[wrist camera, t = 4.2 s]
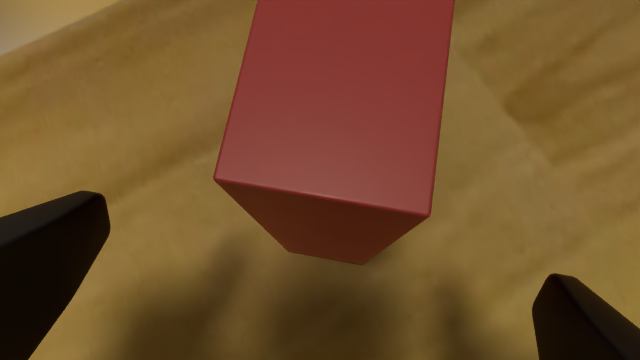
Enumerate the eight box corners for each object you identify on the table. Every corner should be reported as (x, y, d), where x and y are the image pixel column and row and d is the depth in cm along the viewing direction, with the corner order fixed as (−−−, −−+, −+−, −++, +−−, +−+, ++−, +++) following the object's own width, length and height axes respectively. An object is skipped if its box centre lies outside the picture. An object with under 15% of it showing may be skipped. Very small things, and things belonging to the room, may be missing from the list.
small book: (362, 265, 19) (431, 217, 6) (287, 251, 19) (211, 180, 7) (386, 104, 21) (475, -173, 8) (318, 93, 21) (305, -192, 9)
